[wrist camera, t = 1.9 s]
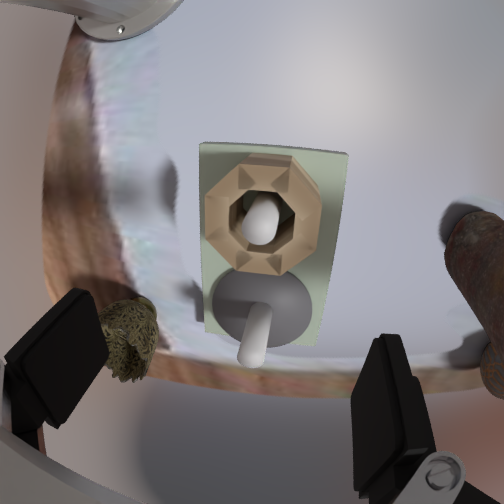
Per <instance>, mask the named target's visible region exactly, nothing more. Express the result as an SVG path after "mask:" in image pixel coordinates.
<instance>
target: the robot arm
mask: <svg viewBox="0 0 504 504" xmlns="http://www.w3.org/2000/svg"><path fill="white" fill-rule="evenodd" d="M183 1H184V0H0V2H1V3H11V4H18V5H26V6H32V7H38V8H43V9H49V10H54V11H58V12H63V13H67V14H72V15H74V17H75V19H76V22H77V24H78V25H79V27H80V28H81V30H82V31H84V32H85V33H86V34H88V35H90V36H92V37H95V38H98V39H103V40H122V39H128V38H131V37H134V36H137V35H140V34H142V33H144V32H146V31H148V30H150V29H152V28H153V27H155V26H156V25H158V24H159V23H160V22H162V21H163V20H165V19H166V18H167V17H168V16H169V15H170V14H171V13H173V12H174V11H175V10H176V9H177V8H178V6H179V5H180V4H181V3H182V2H183ZM4 358H5V360H6V362H7V364H6V365H4V363H3V361H2V360H1V359H0V504H147V503H144V502H141V501H139V500H136V499H133V498H131V497H128V496H125V495H123V494H121V493H118V492H116V491H114V490H111V489H109V488H107V487H104V486H102V485H100V484H98V483H96V482H94V481H92V480H90V479H88V478H86V477H84V476H82V475H80V474H78V473H76V472H74V471H72V470H70V469H68V468H66V467H64V466H63V465H61V464H59V463H57V462H56V461H54V460H52V459H50V458H49V457H47V455H46V448H45V442H44V434H43V426H42V424H43V422H44V421H46V423H47V424H49V425H50V426H52V427H54V428H56V429H58V428H59V427H60V425H61V424H63V423H65V422H66V421H67V419H68V418H69V416H70V414H71V413H72V412H73V410H74V409H75V407H76V406H77V404H78V402H79V401H80V399H81V398H82V396H83V395H84V393H85V392H86V391H87V389H88V388H89V386H90V385H91V383H92V382H93V380H94V379H95V377H96V376H97V374H98V373H99V372H100V370H101V369H102V367H103V366H104V364H105V363H106V362H107V360H108V358H109V349H108V346H107V343H106V340H105V336H104V333H103V330H102V327H101V323H100V320H99V317H98V313H97V309H96V306H95V302H94V299H93V297H92V296H91V294H90V292H89V291H87V290H83V289H79V288H73V289H71V290H70V291H69V292H68V293H67V294H66V295H65V296H64V297H63V298H62V299H61V300H59V301H58V302H57V303H56V304H55V305H54V306H53V307H52V308H51V309H50V310H49V311H48V312H47V313H46V314H45V315H44V316H43V317H42V318H41V319H40V320H39V321H38V322H37V323H36V324H35V325H34V326H33V327H32V328H31V329H30V330H29V331H28V332H27V333H26V334H25V335H24V336H23V337H22V338H21V339H20V340H19V341H18V342H17V343H16V344H15V345H14V346H13V347H12V348H11V349H10V350H9V351H8V353H7V354H6V355H5V356H4ZM351 417H352V436H353V469H354V470H353V471H354V472H353V475H354V476H353V479H354V490H355V491H359V499H365V498H369V504H500V503H499V502H497V501H496V500H494V499H493V498H491V497H489V496H488V495H486V494H484V493H483V492H482V491H480V490H479V489H477V488H475V487H474V486H472V485H471V484H469V483H468V482H466V481H465V476H466V470H465V467H464V464H463V462H462V461H461V459H460V458H458V457H457V456H456V455H455V454H453V453H450V452H447V451H439V452H437V451H436V447H435V441H434V437H433V432H432V428H431V423H430V419H429V416H428V411H427V407H426V403H425V400H424V396H423V392H422V389H421V385H420V382H419V380H418V378H417V377H416V376H412V373H411V369H410V366H409V363H408V359H407V356H406V353H405V349H404V346H403V343H402V340H401V337H400V335H398V334H381V335H380V337H379V338H375V339H374V340H373V342H372V345H371V347H370V350H369V353H368V355H367V358H366V360H365V363H364V365H363V368H362V370H361V373H360V375H359V378H358V380H357V382H356V385H355V387H354V389H353V392H352V395H351Z"/></svg>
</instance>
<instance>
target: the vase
mask: <svg viewBox="0 0 504 504" xmlns="http://www.w3.org/2000/svg"><path fill="white" fill-rule="evenodd" d="M480 372H481V377H482V380H483V383H484V385H485V387H486V388H487V389H488V391H489V392H490V393H491V394H492V395H494V396H495V397H497V398H500V399H503V400H504V365H503V363H502V361H501V359H500V357H499V355H498V353H497V352H496V350H495V348H494V346H493V344H492V342H490V343H489V344H488V345H487V347H486V348H485V350H484V352H483V355H482V357H481V362H480Z"/></svg>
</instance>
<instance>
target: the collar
mask: <svg viewBox="0 0 504 504" xmlns="http://www.w3.org/2000/svg"><path fill="white" fill-rule="evenodd" d="M248 190H259V191H271V192H277V193H278V194H279V195H280V196H281V197H282V198H283V199H284V201H285V202H286V203H287V204H288V205H289V206H290V207H291V209H292V210H293V211H294V212H295V213H294V214H293V215H291V216H290V217H289V218H288V219H286V220H285V221H284V222H282V223H281V224H280V225H277V230H276V234H275V236H274V238H273V239H272V240H271V241H270V242H269V243H267V244H264V245H256V244H253V243H250V242H249V241H248V240H246V238H245V237H244V236H243V233H242V229H241V227H242V222H243V220H244V218H245V216H246V215H247V211H246V210H245V209H244V208H243V194H244V193H245V192H246V191H248ZM321 210H322V203H321V198H320V193H319V188H318V185H317V184H316V183H315V181H314V180H313V179H312V178H311V177H310V176H309V174H308V173H307V172H306V171H305V170H304V168H303V167H302V166H301V165H300V164H299V163H298V161H297V160H296V159H295V158H294V157H293V156H291V155H280V154H267V153H251V154H250V155H249V156H248V157H246V158H245V159H244V160H243V161H242V162H240V163H239V164H238V165H237V166H236V167H235V168H234V169H233V170H231V171H230V172H229V173H228V174H227V175H226V176H225V177H224V178H223V179H222V180H221V181H219V182H218V183H217V184H216V185H215V186H214V187H213V188H212V189H211V190H210V191H209V192H208V193H207V194H206V195H205V239H206V240H207V241H208V242H209V243H210V244H211V245H212V247H213V248H214V249H215V250H216V251H217V252H218V253H219V254H220V255H221V256H222V257H223V258H224V259H225V260H226V261H227V262H228V263H229V264H230V265H231V266H232V267H233V268H234V269H235V270H236V271H243V272H251V273H260V274H269V275H277V276H281V275H282V274H284V273H285V272H286V271H288V270H289V269H291V268H292V267H294V266H295V265H296V264H298V263H299V262H301V261H302V260H304V259H305V258H306V257H308V256H309V255H311V254H312V253H314V252H315V251H316V247H317V240H318V233H319V226H320V218H321Z"/></svg>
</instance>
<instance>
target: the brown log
mask: <svg viewBox="0 0 504 504" xmlns="http://www.w3.org/2000/svg"><path fill="white" fill-rule="evenodd" d="M444 259H445V265H446V268H447V271H448V272H449V274H450V276H451V278H452V279H453V281H454V282H455V284H456V285H457V287H458V289H459V290H460V291H461V293H462V295H463V296H464V298H465V299H466V301H467V303H468V304H469V306H470V307H471V309H472V310H473V312H474V314H475V315H476V317H477V319H478V320H479V322H480V323H481V325H482V326H483V328H484V330H485V331H486V333H487V335H488V337H489V339H490V341H491V342H492V344H493V346H494V348H495V350H496V352H497V353H498V355H499V357H500V359H501V361H502V363H503V365H504V220H502V219H501V218H500V217H499V216H497V215H496V214H494V213H491V212H486V211H479V212H473V213H469V214H467V215H465V216H464V217H463V218H462V219H461V220H460V221H459V222H458V223H457V224H456V226H455V228H454V230H453V232H452V234H451V235H450V237H449V240H448V242H447V245H446V249H445V252H444Z"/></svg>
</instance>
